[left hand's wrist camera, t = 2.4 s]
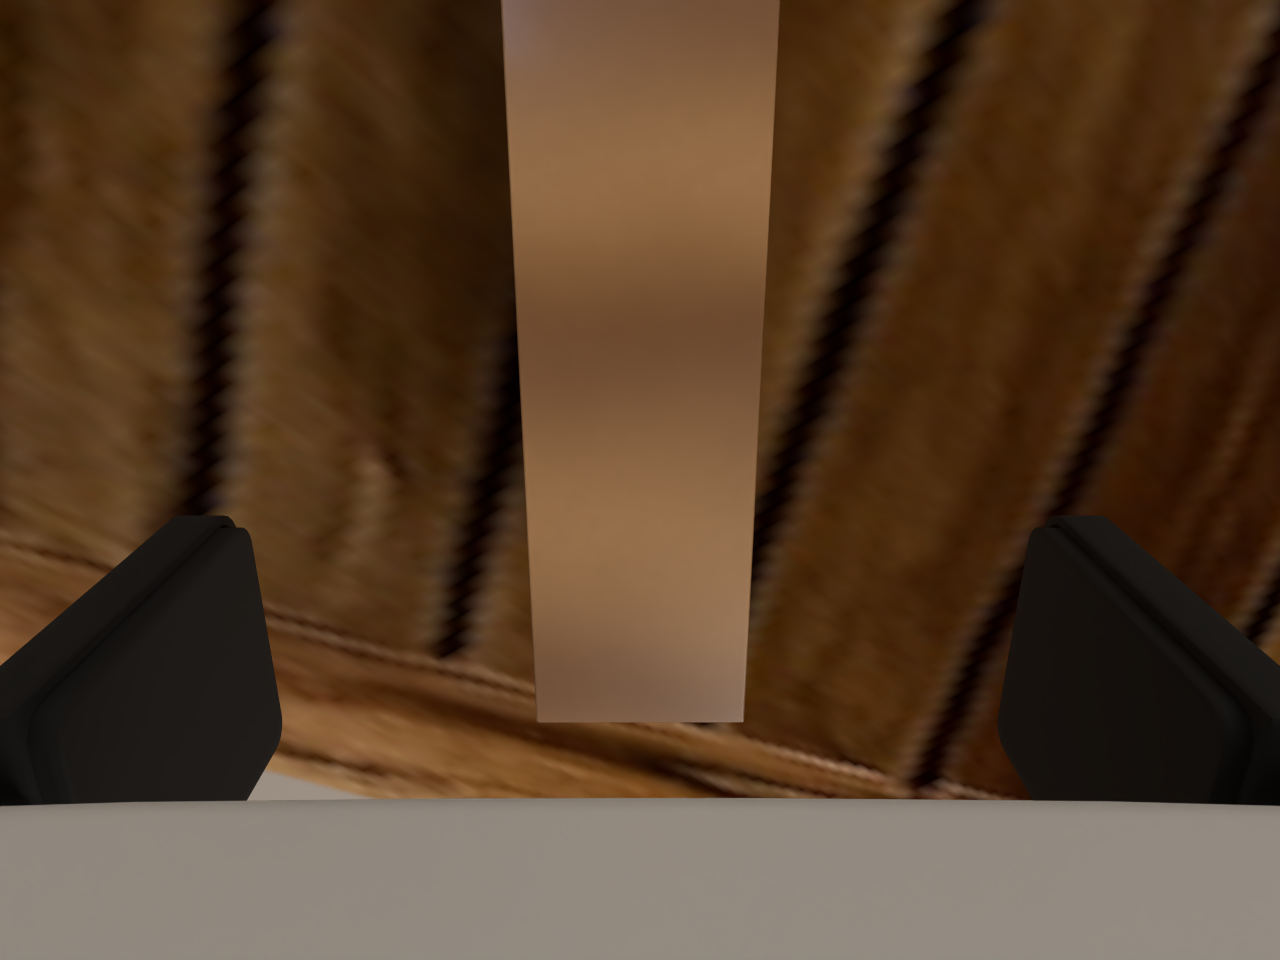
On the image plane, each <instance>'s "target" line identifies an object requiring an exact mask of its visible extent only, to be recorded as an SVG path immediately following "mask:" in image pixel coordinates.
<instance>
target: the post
mask: <svg viewBox="0 0 1280 960" xmlns="http://www.w3.org/2000/svg"><path fill="white" fill-rule="evenodd" d="M779 13H780V0H501V20H502V40H503V60H504V80H505V100H506V120H507V140H508V160H509V180H510V200H511V220H512V240H513V259H514V279H515V299H516V319H517V339H518V359H519V379H520V399H521V419H522V439H523V459H524V479H525V499H526V519H527V539H528V559H529V579H530V599H531V619H532V639H533V658H534V678H535V698H536V718H537V722H743V721H744V708H745V688H746V668H747V648H748V628H749V608H750V588H751V569H752V549H753V529H754V509H755V489H756V469H757V449H758V430H759V410H760V390H761V370H762V350H763V330H764V311H765V291H766V271H767V251H768V231H769V211H770V191H771V172H772V152H773V132H774V112H775V92H776V72H777V52H778V33H779Z"/></svg>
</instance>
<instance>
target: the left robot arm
mask: <svg viewBox="0 0 1280 960" xmlns="http://www.w3.org/2000/svg"><path fill="white" fill-rule="evenodd" d="M281 731H282V714H281V708H280V703H279V697H278V691H277V685H276V679H275V674H274V668H273V662H272V656H271V651H270V645H269V639H268V633H267V627H266V622H265V616H264V610H263V604H262V599H261V593H260V587H259V581H258V576H257V570H256V564H255V558H254V552H253V547H252V542H251V538H250V535H249V533H248V531H247V530H246V529H245V528H236V526H235V524H234V522H233V520H232V519H230V518H229V517H228V516H176V517H174V518H172V519H171V520H170V521H169V522H168V523H167V524H165V525H164V526H163V527H162V528H161V529H160V530H158V531H157V532H156V533H155V534H154V535H153V536H151V537H150V538H149V539H148V540H147V541H146V542H144V543H143V544H142V545H141V546H140V547H139V548H137V549H136V550H135V551H134V552H133V553H132V554H130V555H129V556H128V557H127V558H126V559H125V560H123V561H122V562H121V563H120V564H119V565H118V566H116V567H115V568H114V569H113V570H112V571H111V572H109V573H108V574H107V575H106V576H105V577H104V578H102V579H101V580H100V581H99V582H98V583H97V584H95V585H94V586H93V587H92V588H91V589H90V590H88V591H87V592H86V593H85V594H84V595H83V596H81V597H80V598H79V599H78V600H77V601H76V602H74V603H73V604H72V605H71V606H70V607H69V608H67V609H66V610H65V611H64V612H63V613H62V614H60V615H59V616H58V617H57V618H56V619H55V620H53V621H52V622H51V623H50V624H49V625H48V626H46V627H45V628H44V629H43V630H42V631H41V632H39V633H38V634H37V635H36V636H35V637H34V638H32V639H31V640H30V641H29V642H28V643H27V644H25V645H24V646H23V647H22V648H21V649H20V650H18V651H17V652H16V653H15V654H14V655H13V656H11V657H10V658H9V659H8V660H7V661H6V662H4V663H3V664H2V665H1V666H0V960H1280V666H1279V665H1278V664H1277V663H1276V662H1274V661H1273V660H1272V659H1271V658H1270V657H1269V656H1267V655H1266V654H1265V653H1264V652H1263V651H1262V650H1260V649H1259V648H1258V647H1257V646H1256V645H1255V644H1253V643H1252V642H1251V641H1250V640H1249V639H1248V638H1246V637H1245V636H1244V635H1243V634H1242V633H1241V632H1239V631H1238V630H1237V629H1236V628H1235V627H1234V626H1232V625H1231V624H1230V623H1229V622H1228V621H1227V620H1225V619H1224V618H1223V617H1222V616H1221V615H1220V614H1218V613H1217V612H1216V611H1215V610H1214V609H1213V608H1211V607H1210V606H1209V605H1208V604H1207V603H1206V602H1204V601H1203V600H1202V599H1201V598H1200V597H1199V596H1197V595H1196V594H1195V593H1194V592H1193V591H1192V590H1190V589H1189V588H1188V587H1187V586H1186V585H1185V584H1183V583H1182V582H1181V581H1180V580H1179V579H1178V578H1176V577H1175V576H1174V575H1173V574H1172V573H1171V572H1169V571H1168V570H1167V569H1166V568H1165V567H1164V566H1162V565H1161V564H1160V563H1159V562H1158V561H1157V560H1155V559H1154V558H1153V557H1152V556H1151V555H1150V554H1148V553H1147V552H1146V551H1145V550H1144V549H1143V548H1141V547H1140V546H1139V545H1138V544H1137V543H1136V542H1134V541H1133V540H1132V539H1131V538H1130V537H1129V536H1127V535H1126V534H1125V533H1124V532H1123V531H1122V530H1120V529H1119V528H1118V527H1117V526H1116V525H1115V524H1113V523H1112V522H1111V521H1110V520H1109V519H1108V518H1106V517H1104V516H1052V517H1051V518H1050V519H1048V520H1047V522H1046V524H1045V526H1044V528H1035V529H1034V530H1033V531H1032V533H1031V535H1030V538H1029V542H1028V547H1027V552H1026V558H1025V564H1024V570H1023V576H1022V581H1021V587H1020V593H1019V599H1018V604H1017V610H1016V616H1015V622H1014V627H1013V633H1012V639H1011V645H1010V651H1009V656H1008V662H1007V668H1006V674H1005V679H1004V685H1003V691H1002V697H1001V703H1000V708H999V714H998V731H999V737H1000V741H1001V744H1002V746H1003V749H1004V751H1005V752H1006V754H1007V756H1008V757H1009V759H1010V761H1011V763H1012V764H1013V766H1014V768H1015V770H1016V771H1017V773H1018V775H1019V777H1020V778H1021V780H1022V782H1023V783H1024V785H1025V787H1026V789H1027V790H1028V792H1029V794H1030V796H1031V797H1032V799H1033V801H1011V800H895V799H779V798H462V799H367V800H277V801H276V800H275V801H247V799H248V797H249V796H250V794H251V792H252V790H253V789H254V787H255V785H256V783H257V782H258V780H259V778H260V776H261V775H262V773H263V771H264V770H265V768H266V766H267V764H268V763H269V761H270V759H271V757H272V756H273V754H274V752H275V751H276V749H277V746H278V744H279V741H280V737H281Z"/></svg>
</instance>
